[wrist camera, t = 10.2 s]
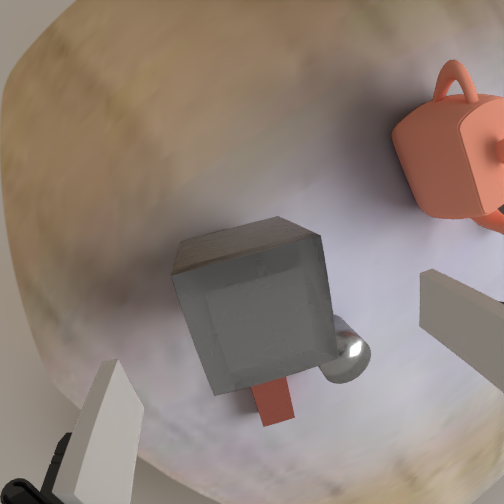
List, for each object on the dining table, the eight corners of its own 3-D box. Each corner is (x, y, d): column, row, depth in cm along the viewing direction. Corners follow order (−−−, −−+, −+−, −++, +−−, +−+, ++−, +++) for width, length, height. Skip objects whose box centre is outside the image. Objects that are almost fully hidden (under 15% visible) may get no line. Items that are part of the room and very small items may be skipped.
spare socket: (300, 322, 28) (320, 349, 23) (344, 308, 28) (369, 331, 23) (307, 360, 29) (325, 390, 24) (348, 346, 29) (371, 372, 24)
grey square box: (180, 241, 21) (171, 275, 13) (278, 216, 22) (320, 235, 14) (207, 330, 23) (214, 396, 15) (296, 305, 24) (338, 358, 16)
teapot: (433, 66, 24) (503, 44, 14) (485, 212, 29) (552, 227, 19) (359, 95, 24) (434, 64, 14) (427, 263, 29) (499, 294, 19)
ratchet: (190, 239, 24) (187, 262, 17) (264, 220, 25) (288, 235, 18) (246, 415, 29) (258, 464, 22) (301, 399, 30) (324, 444, 23)
